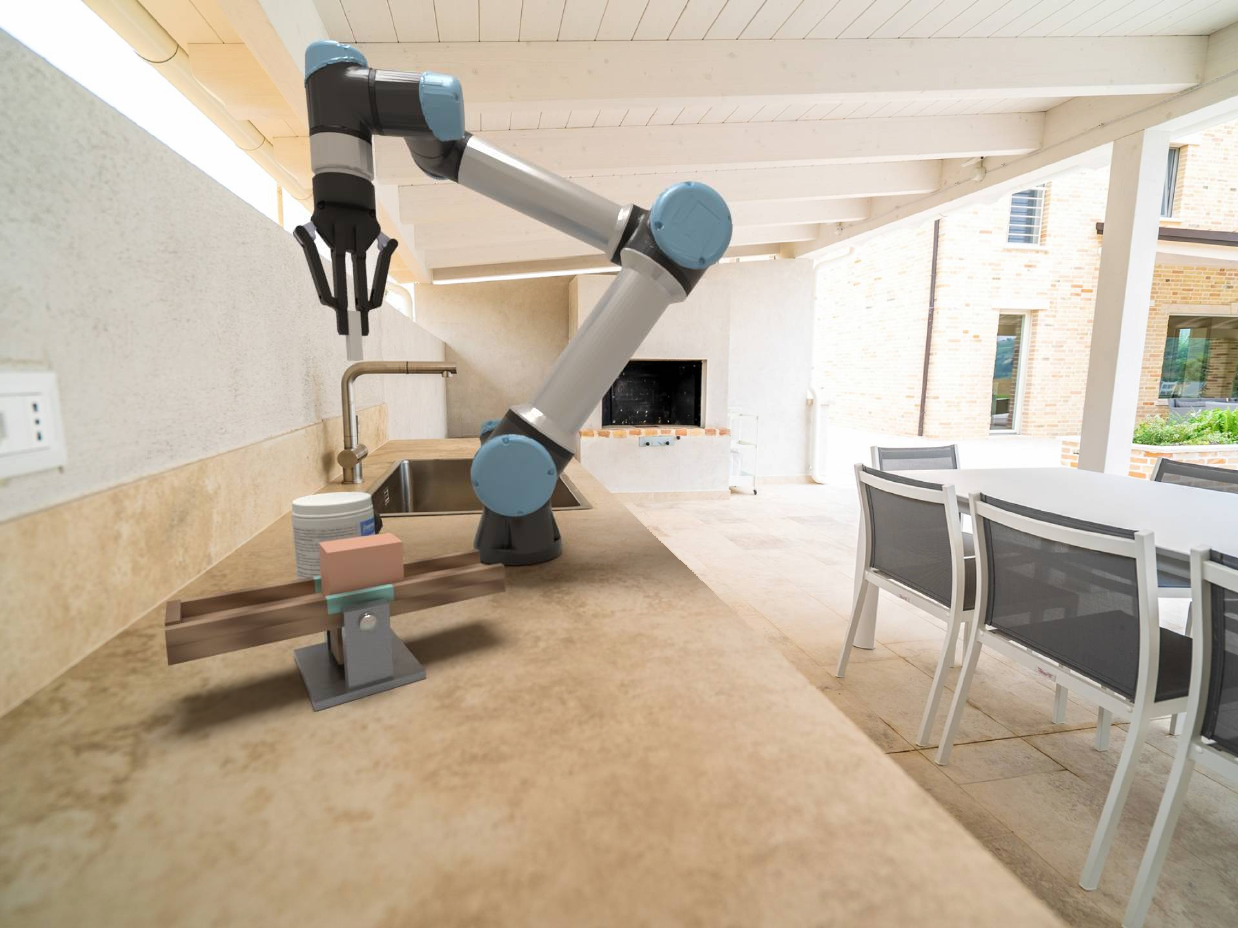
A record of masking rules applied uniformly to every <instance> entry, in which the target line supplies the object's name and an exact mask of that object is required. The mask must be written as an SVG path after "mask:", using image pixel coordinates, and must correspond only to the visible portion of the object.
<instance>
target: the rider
mask: <svg viewBox="0 0 1238 928" xmlns="http://www.w3.org/2000/svg"><path fill="white" fill-rule="evenodd" d="M403 551H404V549H403V541H402V540H401V539H399V538H398V537H397V536H395V535H394V534H393V533H392V532H386V533H378V534H377V535H369V536H362V537H355V538H348V539H341V540H333V541H326V542H319V556H320V572H321V587H322V595H323V597H324V596H329V595H334V594H340V593H345V592H350V591H356V590H361V589H366V588H371V587H377V586H382V585H387V584H393V583H398V582H403V581H404V568H403V562H404V552H403Z"/></svg>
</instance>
